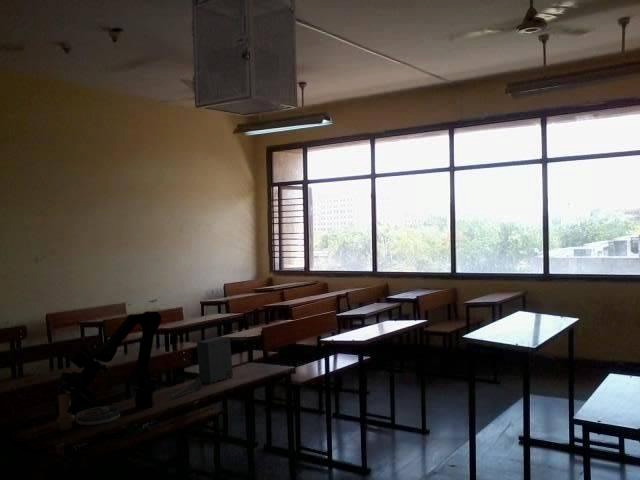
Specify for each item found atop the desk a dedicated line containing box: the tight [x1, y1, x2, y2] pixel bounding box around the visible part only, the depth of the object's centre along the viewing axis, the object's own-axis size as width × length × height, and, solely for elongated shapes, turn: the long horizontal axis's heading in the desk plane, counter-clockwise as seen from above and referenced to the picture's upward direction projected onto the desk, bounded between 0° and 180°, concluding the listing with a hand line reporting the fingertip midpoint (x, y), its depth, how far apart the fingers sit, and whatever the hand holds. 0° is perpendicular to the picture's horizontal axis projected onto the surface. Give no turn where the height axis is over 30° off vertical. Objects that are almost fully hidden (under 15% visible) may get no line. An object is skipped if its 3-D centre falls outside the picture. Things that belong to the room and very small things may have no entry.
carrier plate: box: [75, 405, 121, 426], centre depth 237 cm, size 16×16×3 cm
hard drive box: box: [196, 336, 234, 385], centre depth 295 cm, size 16×8×20 cm, turn 143°
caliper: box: [168, 376, 202, 401], centre depth 269 cm, size 20×1×6 cm, turn 151°
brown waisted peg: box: [56, 394, 75, 431], centre depth 226 cm, size 6×6×12 cm
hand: (61, 410), depth 225 cm, fingers open, 9 cm apart
